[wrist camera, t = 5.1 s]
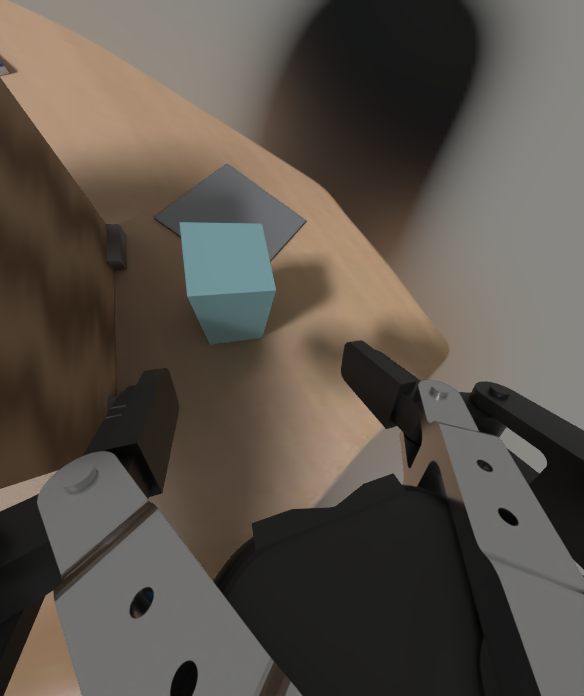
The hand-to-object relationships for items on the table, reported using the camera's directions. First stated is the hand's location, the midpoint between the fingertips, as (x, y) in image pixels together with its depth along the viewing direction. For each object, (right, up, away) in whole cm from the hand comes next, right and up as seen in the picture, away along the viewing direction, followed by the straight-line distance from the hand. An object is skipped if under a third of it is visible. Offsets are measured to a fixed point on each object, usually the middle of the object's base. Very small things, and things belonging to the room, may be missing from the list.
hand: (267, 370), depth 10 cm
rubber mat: (-5, +16, +15) cm, 22 cm away
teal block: (-5, +4, +12) cm, 13 cm away
